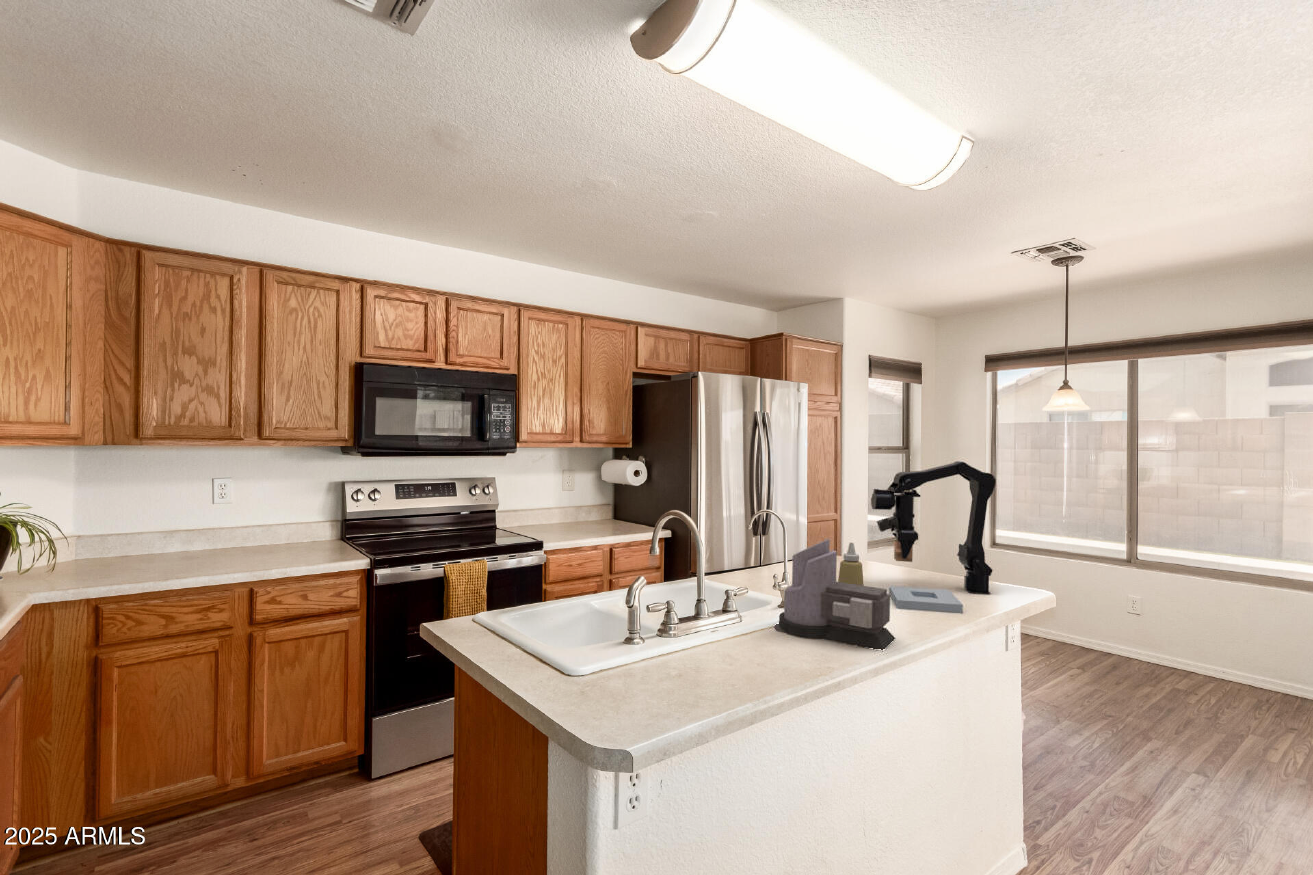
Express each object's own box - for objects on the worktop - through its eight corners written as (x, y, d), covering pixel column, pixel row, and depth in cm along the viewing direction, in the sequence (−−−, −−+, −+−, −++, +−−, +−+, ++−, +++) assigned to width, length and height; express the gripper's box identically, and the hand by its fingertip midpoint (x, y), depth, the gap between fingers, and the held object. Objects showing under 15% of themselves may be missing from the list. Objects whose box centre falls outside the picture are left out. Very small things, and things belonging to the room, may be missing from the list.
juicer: (764, 630, 168) (766, 537, 168) (788, 616, 181) (789, 529, 181) (881, 654, 151) (883, 551, 151) (898, 636, 164) (900, 541, 164)
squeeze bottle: (846, 596, 204) (847, 539, 203) (869, 601, 197) (870, 543, 197) (831, 600, 199) (832, 542, 198) (854, 605, 192) (855, 546, 192)
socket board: (948, 597, 204) (949, 589, 204) (962, 613, 186) (962, 604, 186) (889, 593, 208) (889, 585, 208) (897, 608, 190) (897, 600, 190)
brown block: (909, 558, 215) (910, 541, 215) (912, 561, 210) (912, 543, 210) (894, 557, 216) (894, 540, 216) (896, 560, 211) (896, 542, 211)
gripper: (875, 505, 224) (874, 550, 224) (882, 512, 206) (881, 560, 206) (909, 507, 221) (908, 552, 221) (919, 514, 203) (918, 563, 203)
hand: (903, 556), depth 213 cm, fingers closed on brown block, 5 cm apart
